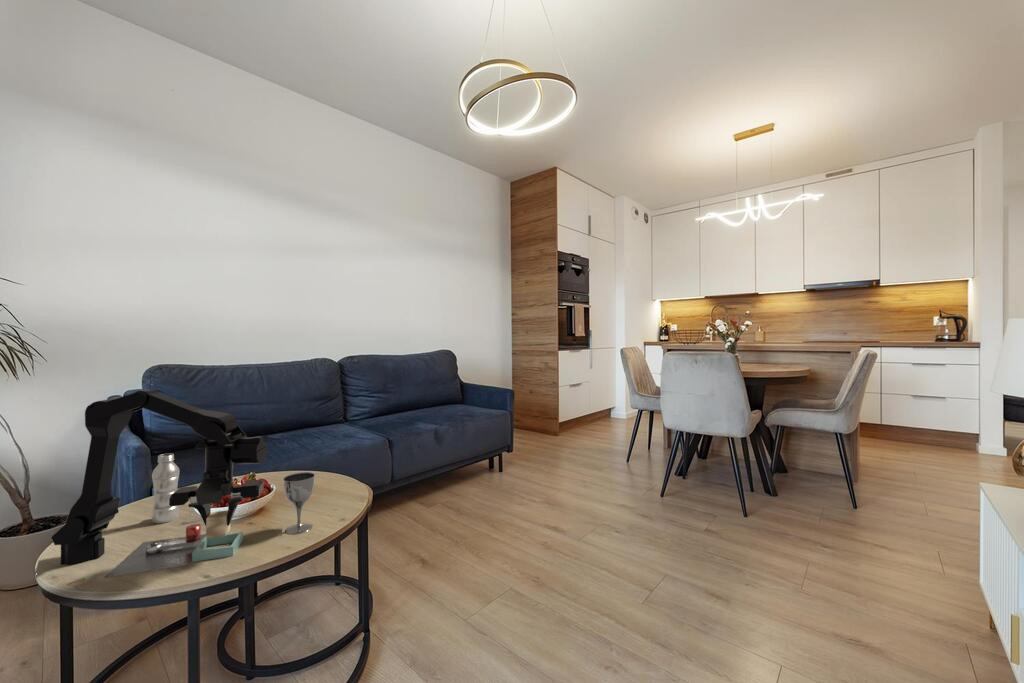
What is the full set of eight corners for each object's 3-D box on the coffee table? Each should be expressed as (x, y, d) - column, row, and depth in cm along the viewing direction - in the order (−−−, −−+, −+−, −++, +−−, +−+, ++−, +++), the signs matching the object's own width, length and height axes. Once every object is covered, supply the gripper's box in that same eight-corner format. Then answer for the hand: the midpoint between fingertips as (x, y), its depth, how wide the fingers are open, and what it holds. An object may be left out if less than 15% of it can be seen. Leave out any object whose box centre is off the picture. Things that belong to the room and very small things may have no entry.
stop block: (206, 538, 100) (206, 518, 100) (212, 531, 104) (212, 512, 104) (225, 536, 101) (225, 516, 101) (230, 529, 105) (230, 509, 105)
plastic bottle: (175, 515, 125) (175, 450, 125) (182, 521, 121) (183, 454, 121) (147, 523, 120) (148, 455, 120) (154, 529, 116) (155, 459, 116)
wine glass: (283, 537, 111) (284, 483, 111) (282, 526, 118) (282, 475, 118) (315, 530, 115) (316, 478, 115) (312, 520, 122) (312, 470, 122)
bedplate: (104, 581, 91) (104, 576, 91) (143, 545, 107) (143, 541, 107) (187, 568, 96) (187, 564, 96) (212, 535, 112) (212, 532, 112)
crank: (143, 555, 100) (143, 535, 100) (148, 549, 103) (149, 530, 103) (198, 546, 104) (198, 528, 104) (202, 541, 107) (202, 522, 107)
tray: (192, 565, 97) (192, 552, 97) (205, 548, 105) (205, 536, 105) (233, 558, 100) (233, 546, 100) (242, 542, 108) (242, 531, 108)
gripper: (158, 478, 92) (157, 547, 92) (253, 470, 98) (252, 534, 98) (179, 464, 102) (179, 526, 102) (264, 457, 109) (263, 516, 109)
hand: (218, 526), depth 103 cm, fingers closed on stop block, 4 cm apart
